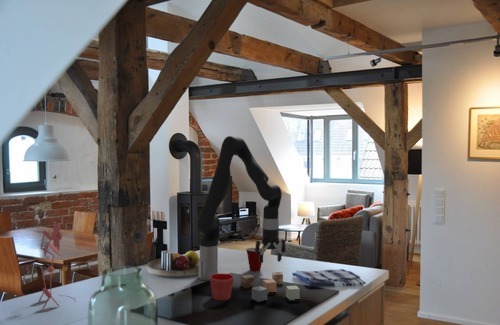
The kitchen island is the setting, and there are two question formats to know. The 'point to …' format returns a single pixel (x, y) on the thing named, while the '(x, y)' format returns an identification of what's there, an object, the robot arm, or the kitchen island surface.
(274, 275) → the oak cube
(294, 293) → the sage cube
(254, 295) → the slate cube
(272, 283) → the terracotta cube
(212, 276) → the flower pot
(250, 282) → the walnut cube
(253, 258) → the plastic cup
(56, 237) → the figurine
